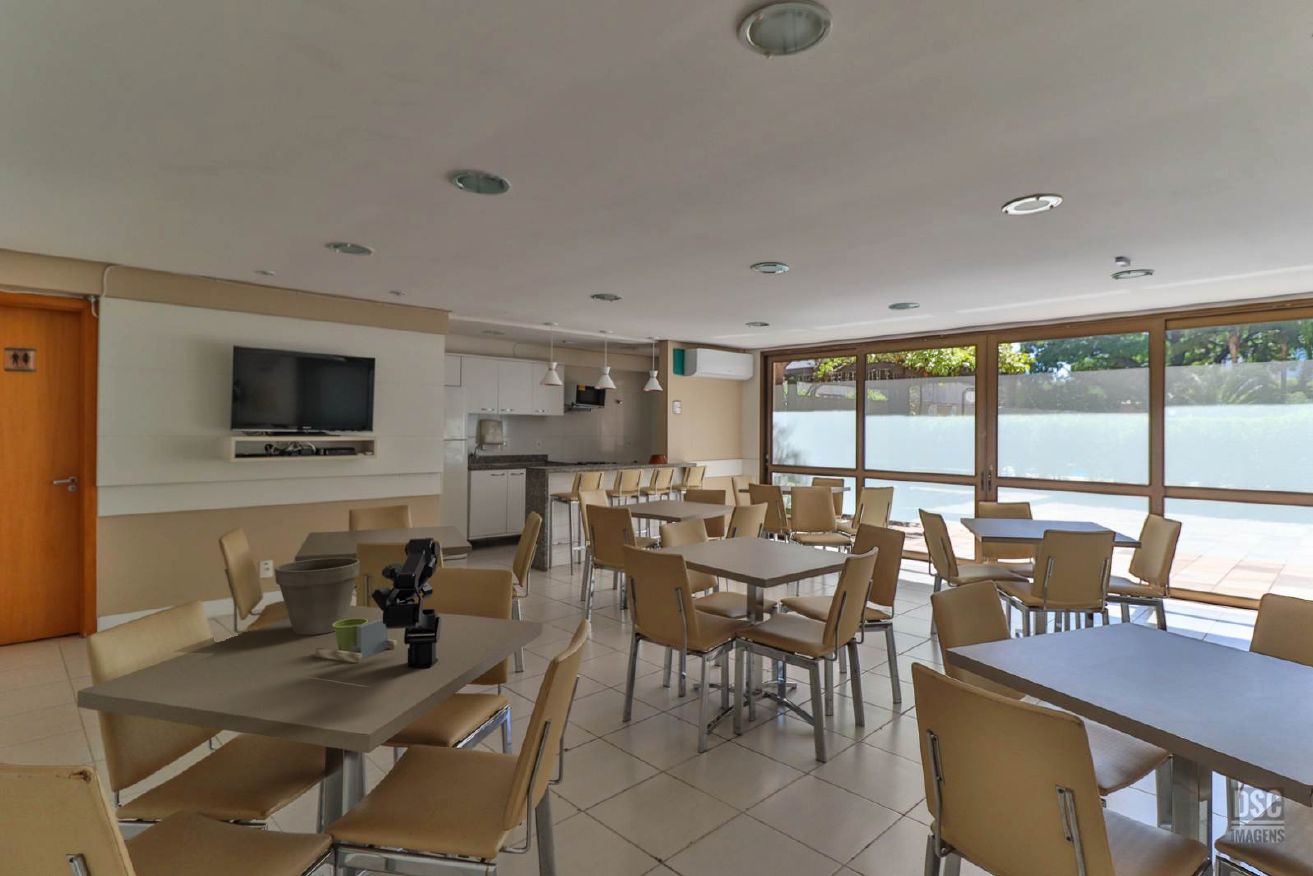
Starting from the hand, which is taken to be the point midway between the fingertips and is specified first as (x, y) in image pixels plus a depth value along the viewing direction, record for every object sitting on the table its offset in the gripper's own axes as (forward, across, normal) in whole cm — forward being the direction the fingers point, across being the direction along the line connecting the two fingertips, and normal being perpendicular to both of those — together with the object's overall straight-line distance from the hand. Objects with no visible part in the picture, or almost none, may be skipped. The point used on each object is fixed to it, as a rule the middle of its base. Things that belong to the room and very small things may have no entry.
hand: (387, 612), depth 187 cm
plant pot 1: (+40, -15, -22) cm, 47 cm away
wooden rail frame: (+17, 0, +1) cm, 17 cm away
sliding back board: (+13, 0, +4) cm, 14 cm away
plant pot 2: (+19, 0, 0) cm, 19 cm away
